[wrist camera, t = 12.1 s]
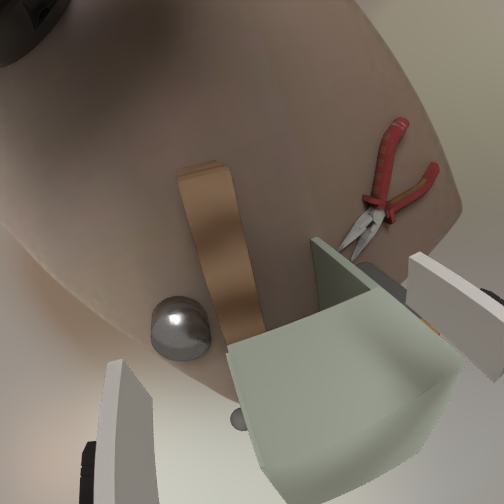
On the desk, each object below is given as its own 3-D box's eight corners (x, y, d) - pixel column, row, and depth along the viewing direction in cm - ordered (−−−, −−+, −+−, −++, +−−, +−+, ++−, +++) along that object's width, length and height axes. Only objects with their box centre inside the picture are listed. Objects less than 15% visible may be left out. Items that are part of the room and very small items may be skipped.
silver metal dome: (141, 310, 33) (139, 330, 30) (190, 286, 34) (193, 305, 30) (170, 347, 36) (171, 368, 33) (215, 327, 37) (220, 347, 33)
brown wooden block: (177, 170, 28) (177, 182, 20) (214, 160, 29) (229, 168, 21) (226, 334, 38) (240, 382, 30) (254, 325, 38) (274, 371, 30)
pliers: (311, 231, 35) (321, 238, 33) (394, 113, 32) (407, 113, 29) (362, 271, 40) (372, 279, 38) (432, 166, 37) (444, 169, 34)
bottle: (344, 302, 41) (404, 368, 27) (343, 268, 38) (413, 331, 25) (375, 290, 41) (439, 346, 28) (376, 256, 39) (449, 309, 26)
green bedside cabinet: (195, 276, 33) (239, 477, 12) (317, 236, 35) (466, 361, 14) (232, 367, 40) (282, 517, 19) (328, 331, 42) (418, 452, 21)
